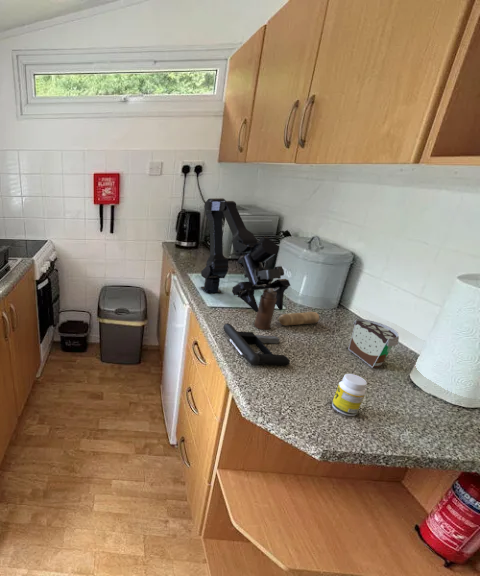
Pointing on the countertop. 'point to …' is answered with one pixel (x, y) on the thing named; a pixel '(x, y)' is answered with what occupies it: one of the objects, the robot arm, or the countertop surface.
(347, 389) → the supplement bottle
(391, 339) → the food container
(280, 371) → the countertop surface
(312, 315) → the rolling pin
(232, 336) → the door handle
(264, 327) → the pepper mill
